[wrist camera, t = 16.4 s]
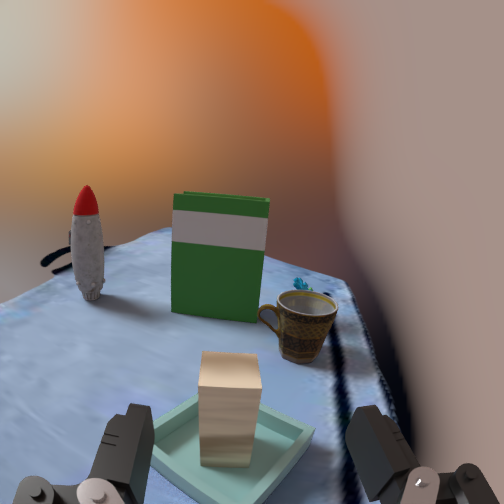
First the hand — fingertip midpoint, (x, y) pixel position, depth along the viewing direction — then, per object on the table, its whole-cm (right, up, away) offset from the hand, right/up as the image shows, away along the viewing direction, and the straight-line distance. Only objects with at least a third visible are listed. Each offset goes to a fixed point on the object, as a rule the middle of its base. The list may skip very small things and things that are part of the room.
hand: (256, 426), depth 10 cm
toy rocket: (-37, -4, +51) cm, 63 cm away
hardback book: (-8, -6, +53) cm, 54 cm away
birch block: (-3, -15, +17) cm, 23 cm away
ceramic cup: (+6, -11, +40) cm, 42 cm away
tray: (-3, -16, +18) cm, 24 cm away
